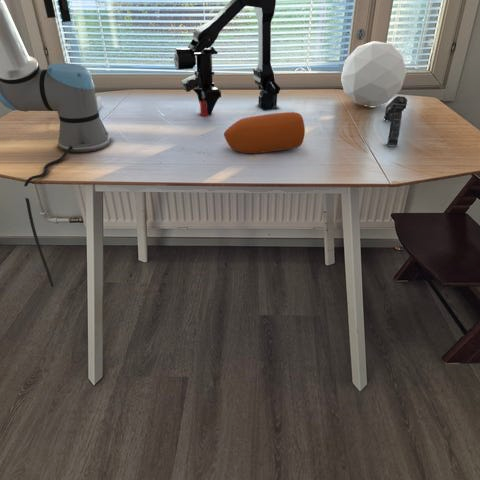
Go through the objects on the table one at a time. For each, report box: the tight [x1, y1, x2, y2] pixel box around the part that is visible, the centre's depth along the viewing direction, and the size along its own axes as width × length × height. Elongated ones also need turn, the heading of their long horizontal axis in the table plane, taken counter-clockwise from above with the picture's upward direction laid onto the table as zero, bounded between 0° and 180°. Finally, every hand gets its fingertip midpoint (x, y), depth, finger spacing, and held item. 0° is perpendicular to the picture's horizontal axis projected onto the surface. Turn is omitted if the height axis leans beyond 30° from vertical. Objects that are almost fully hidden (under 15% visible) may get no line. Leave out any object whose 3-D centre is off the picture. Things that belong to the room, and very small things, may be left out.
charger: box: [96, 94, 103, 111], centre depth 158 cm, size 5×9×15 cm
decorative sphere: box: [340, 40, 408, 109], centre depth 161 cm, size 24×25×25 cm
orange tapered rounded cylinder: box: [223, 111, 306, 154], centre depth 125 cm, size 12×11×25 cm
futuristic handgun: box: [383, 95, 408, 147], centre depth 138 cm, size 4×29×15 cm, turn 164°
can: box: [199, 100, 210, 117], centre depth 154 cm, size 4×4×5 cm
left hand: (59, 19), depth 139 cm, fingers open, 13 cm apart
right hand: (205, 111), depth 155 cm, fingers open, 8 cm apart
